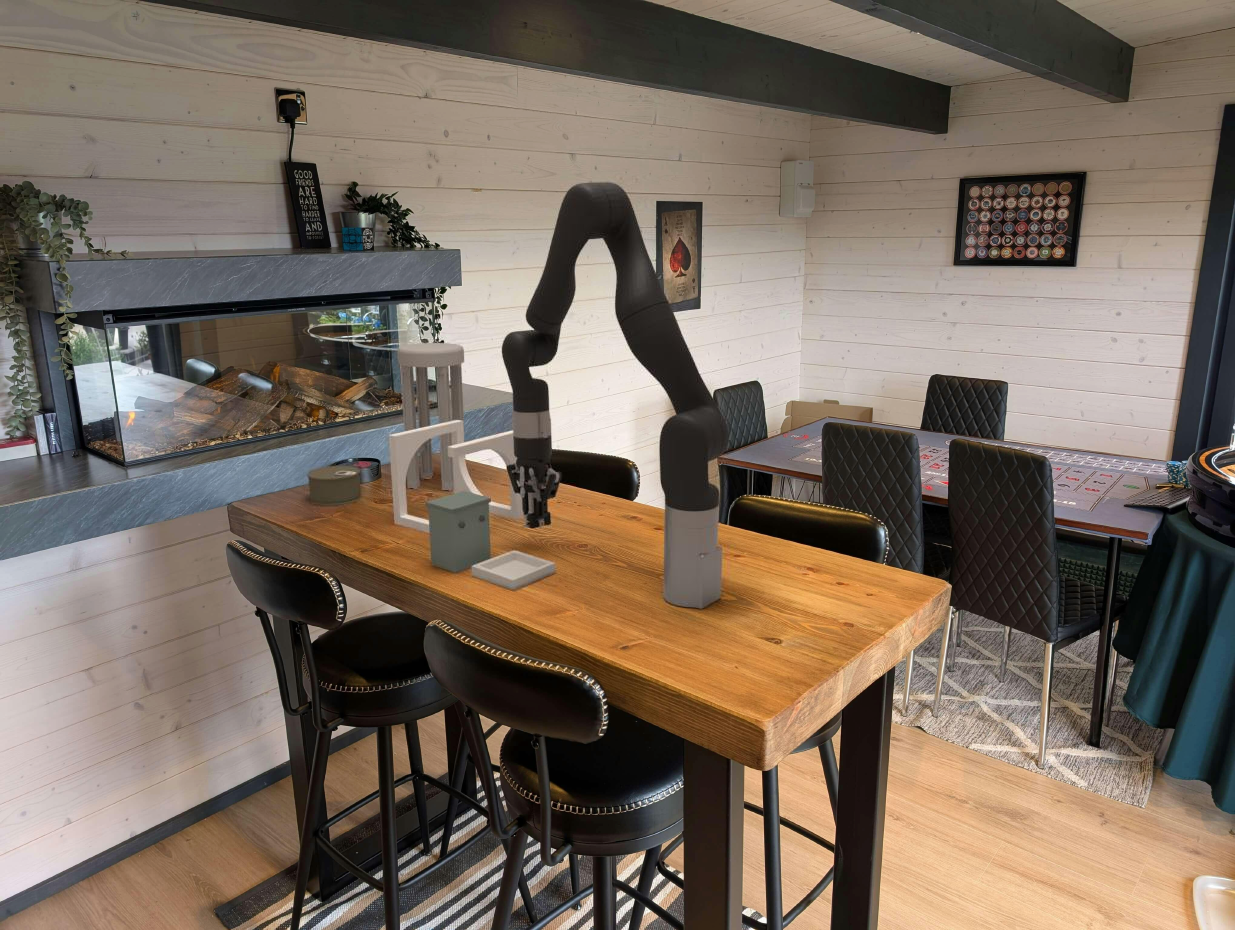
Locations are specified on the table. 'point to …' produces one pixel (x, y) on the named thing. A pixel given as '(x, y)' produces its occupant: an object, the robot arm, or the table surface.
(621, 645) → the table surface
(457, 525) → the box
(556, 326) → the robot arm
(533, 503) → the push button
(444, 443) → the stool
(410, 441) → the bookend
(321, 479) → the can
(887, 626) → the table surface
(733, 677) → the table surface
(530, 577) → the tray
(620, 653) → the table surface
